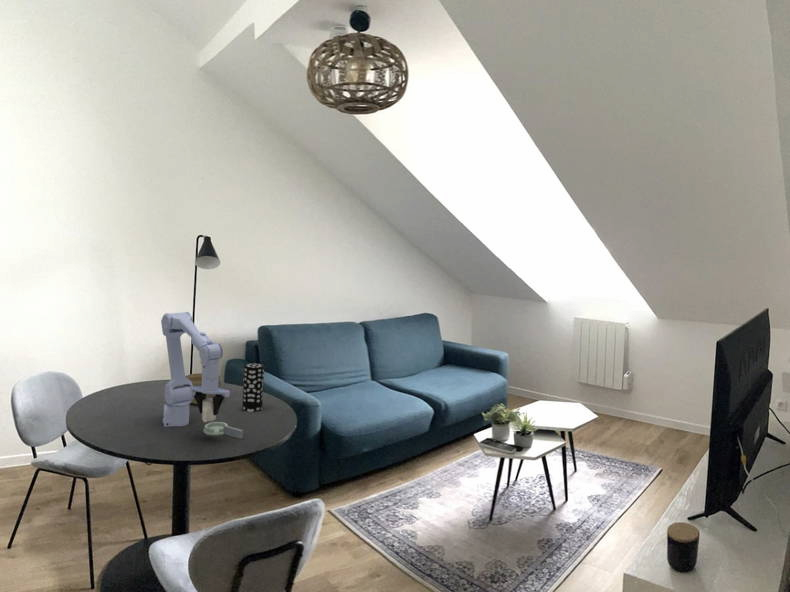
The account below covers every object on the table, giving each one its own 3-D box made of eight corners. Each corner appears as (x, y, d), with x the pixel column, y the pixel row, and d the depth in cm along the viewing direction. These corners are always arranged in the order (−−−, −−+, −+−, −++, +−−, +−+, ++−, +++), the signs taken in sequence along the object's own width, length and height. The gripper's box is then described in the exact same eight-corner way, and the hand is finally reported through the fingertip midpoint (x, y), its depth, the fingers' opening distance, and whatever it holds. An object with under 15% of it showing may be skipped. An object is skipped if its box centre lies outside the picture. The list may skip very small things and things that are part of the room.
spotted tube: (266, 411, 245) (268, 366, 242) (249, 415, 239) (251, 368, 236) (254, 406, 250) (256, 362, 248) (238, 410, 244) (240, 364, 242)
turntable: (203, 427, 218) (203, 420, 218) (240, 426, 223) (240, 418, 222) (203, 440, 205) (204, 432, 205) (242, 438, 210) (243, 431, 210)
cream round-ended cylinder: (205, 415, 211) (205, 397, 210) (218, 416, 211) (218, 398, 210) (198, 422, 203) (198, 403, 202) (211, 423, 203) (212, 404, 202)
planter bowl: (200, 409, 241) (201, 384, 240) (174, 401, 249) (175, 377, 248) (228, 401, 255) (229, 377, 254) (203, 394, 263) (204, 371, 262)
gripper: (234, 376, 208) (232, 412, 210) (197, 372, 211) (196, 407, 212) (224, 381, 201) (223, 418, 203) (187, 376, 204) (186, 413, 205)
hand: (209, 413), depth 207 cm, fingers closed on cream round-ended cylinder, 5 cm apart
